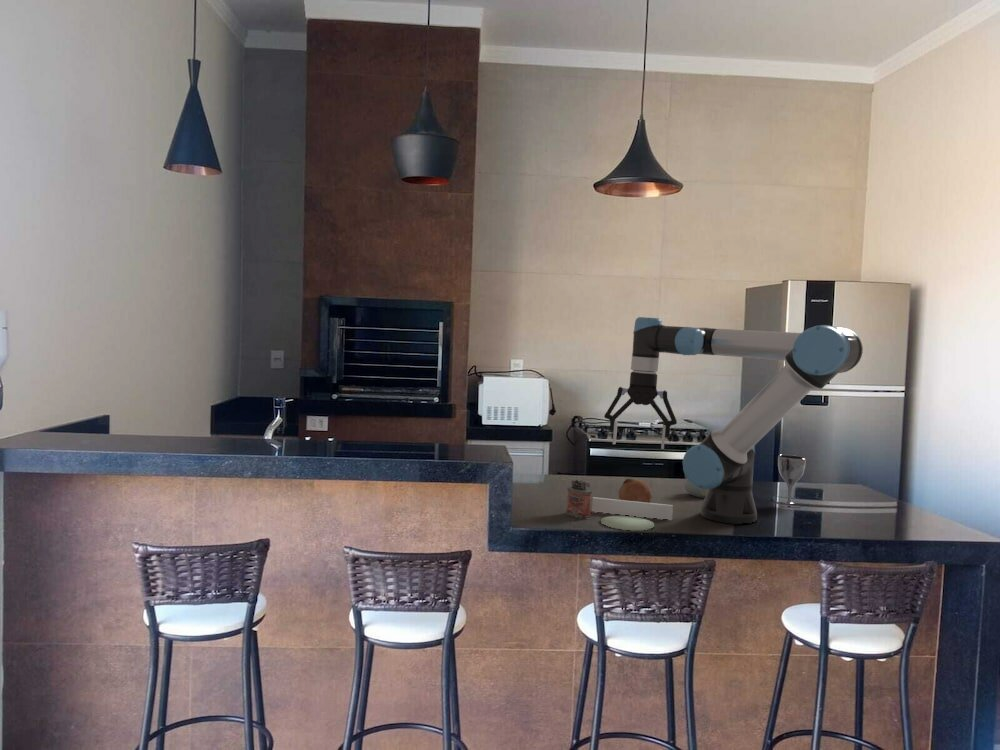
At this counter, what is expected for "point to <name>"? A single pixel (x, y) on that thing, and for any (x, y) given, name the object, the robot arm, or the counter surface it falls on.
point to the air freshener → (695, 490)
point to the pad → (627, 523)
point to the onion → (635, 491)
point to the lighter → (579, 499)
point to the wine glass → (791, 470)
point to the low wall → (632, 508)
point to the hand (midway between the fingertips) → (638, 446)
